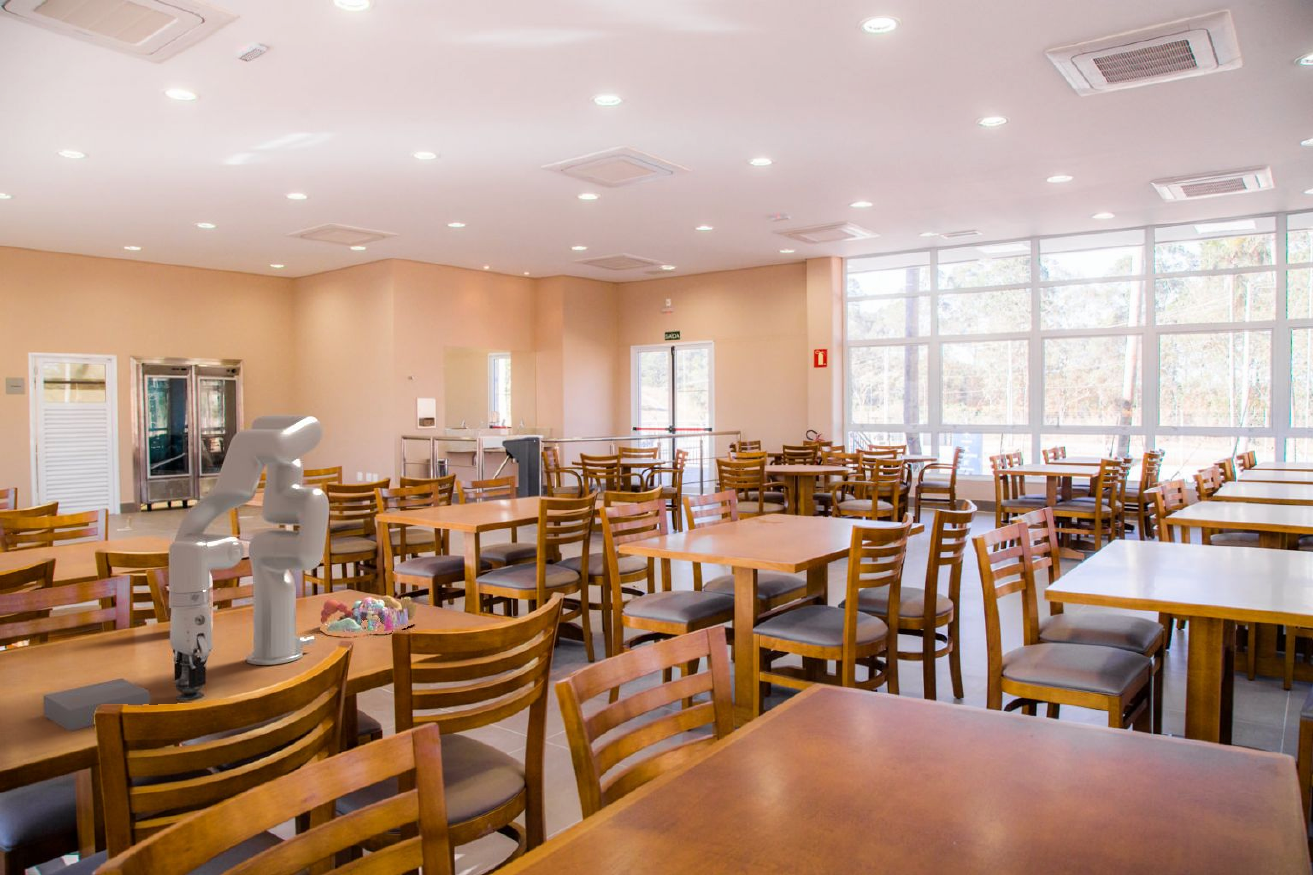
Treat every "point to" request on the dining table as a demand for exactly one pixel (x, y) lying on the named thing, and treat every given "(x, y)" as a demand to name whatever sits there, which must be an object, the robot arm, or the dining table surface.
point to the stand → (90, 702)
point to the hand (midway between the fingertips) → (190, 682)
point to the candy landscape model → (369, 614)
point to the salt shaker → (187, 682)
